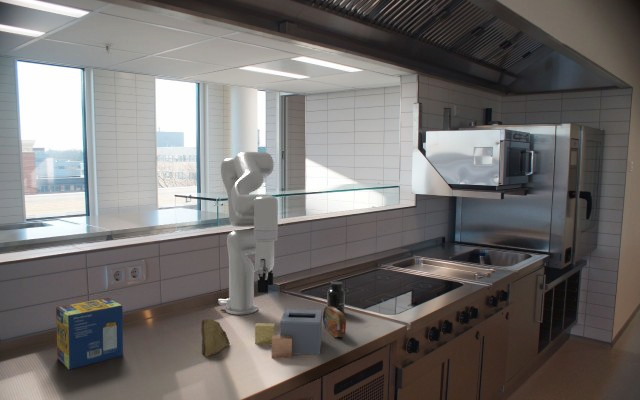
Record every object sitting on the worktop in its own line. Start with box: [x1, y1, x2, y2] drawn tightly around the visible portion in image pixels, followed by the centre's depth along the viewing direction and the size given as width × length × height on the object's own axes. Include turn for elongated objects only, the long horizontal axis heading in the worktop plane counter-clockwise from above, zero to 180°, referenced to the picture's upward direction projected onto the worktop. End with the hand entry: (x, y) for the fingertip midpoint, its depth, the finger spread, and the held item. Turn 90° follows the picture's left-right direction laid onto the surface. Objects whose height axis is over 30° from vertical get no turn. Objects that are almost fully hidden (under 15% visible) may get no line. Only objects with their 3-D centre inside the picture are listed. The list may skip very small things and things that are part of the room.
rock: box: [200, 318, 230, 358], centre depth 147 cm, size 11×9×10 cm
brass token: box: [254, 322, 276, 345], centre depth 154 cm, size 2×6×6 cm, turn 87°
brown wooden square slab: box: [271, 334, 293, 359], centre depth 143 cm, size 2×6×6 cm, turn 87°
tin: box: [322, 305, 347, 338], centre depth 163 cm, size 15×3×8 cm, turn 21°
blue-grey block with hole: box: [279, 308, 323, 355], centre depth 151 cm, size 12×12×10 cm
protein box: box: [55, 297, 124, 370], centre depth 140 cm, size 10×15×16 cm
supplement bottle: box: [326, 281, 346, 315], centre depth 185 cm, size 7×7×12 cm
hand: (265, 288), depth 152 cm, fingers open, 9 cm apart
